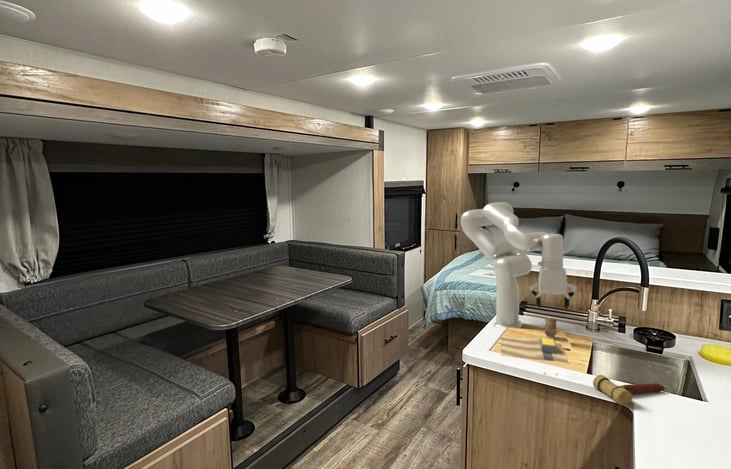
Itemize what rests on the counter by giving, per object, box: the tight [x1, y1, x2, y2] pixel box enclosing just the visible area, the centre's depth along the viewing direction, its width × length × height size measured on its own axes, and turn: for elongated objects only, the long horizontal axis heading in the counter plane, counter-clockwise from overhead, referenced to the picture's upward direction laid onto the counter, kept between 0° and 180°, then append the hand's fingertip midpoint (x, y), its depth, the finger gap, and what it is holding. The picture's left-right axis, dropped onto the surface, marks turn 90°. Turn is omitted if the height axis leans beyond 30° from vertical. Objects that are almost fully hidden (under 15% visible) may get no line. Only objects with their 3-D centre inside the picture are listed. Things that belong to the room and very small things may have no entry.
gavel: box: [592, 374, 669, 406], centre depth 115 cm, size 21×5×10 cm
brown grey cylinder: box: [544, 317, 557, 340], centre depth 155 cm, size 4×4×9 cm
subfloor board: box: [500, 336, 569, 364], centre depth 146 cm, size 19×22×2 cm
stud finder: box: [539, 337, 557, 354], centre depth 144 cm, size 7×5×3 cm
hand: (552, 307), depth 153 cm, fingers open, 9 cm apart
